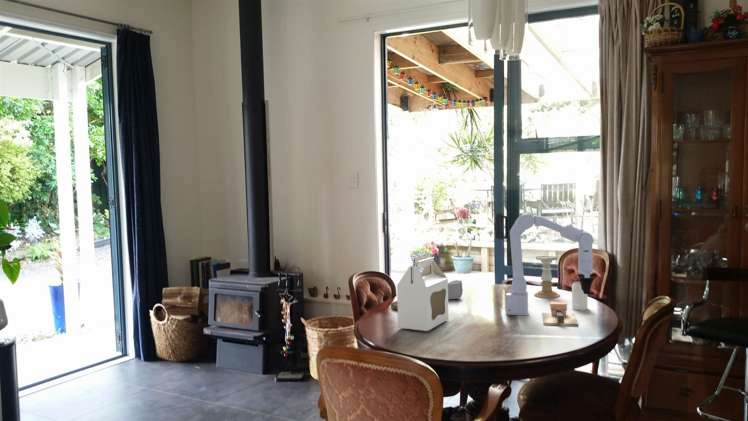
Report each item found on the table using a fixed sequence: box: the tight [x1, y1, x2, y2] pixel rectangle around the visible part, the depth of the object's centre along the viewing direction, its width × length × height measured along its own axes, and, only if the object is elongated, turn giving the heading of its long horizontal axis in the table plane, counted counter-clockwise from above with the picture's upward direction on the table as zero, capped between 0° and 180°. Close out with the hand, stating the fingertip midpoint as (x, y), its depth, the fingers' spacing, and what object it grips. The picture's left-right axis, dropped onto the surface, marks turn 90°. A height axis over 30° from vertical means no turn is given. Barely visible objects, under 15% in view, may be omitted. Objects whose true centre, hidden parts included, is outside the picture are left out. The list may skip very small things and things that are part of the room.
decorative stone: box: [448, 279, 464, 300], centre depth 278 cm, size 15×7×10 cm
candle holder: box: [533, 255, 561, 299], centre depth 277 cm, size 12×12×20 cm
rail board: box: [541, 310, 579, 327], centre depth 229 cm, size 13×18×4 cm
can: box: [571, 281, 589, 311], centre depth 249 cm, size 6×6×12 cm
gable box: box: [396, 253, 450, 332], centre depth 230 cm, size 22×13×28 cm, turn 151°
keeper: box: [549, 301, 568, 316], centre depth 235 cm, size 6×5×5 cm
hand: (585, 292), depth 237 cm, fingers open, 7 cm apart
